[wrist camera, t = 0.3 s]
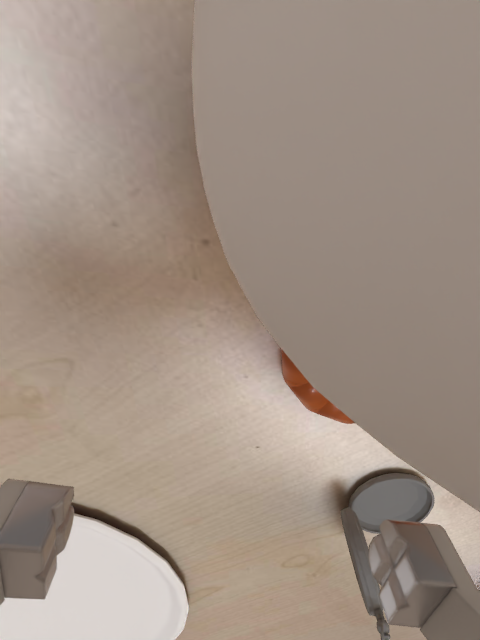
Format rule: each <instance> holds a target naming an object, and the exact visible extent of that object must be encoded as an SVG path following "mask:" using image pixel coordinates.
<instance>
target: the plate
mask: <svg viewBox="0 0 480 640" xmlns="http://www.w3.org/2000/svg"><path fill="white" fill-rule="evenodd" d="M188 611H189V604H188V600H187V595H186V591H185V587H184V583H183V582H182V581H181V579H180V578H179V577H178V575H177V574H176V572H175V571H174V570H173V568H172V567H171V566H170V564H169V563H168V561H167V560H165V559H164V558H163V557H161V556H160V555H159V554H158V553H156V552H155V551H154V550H152V549H151V548H150V547H148V546H147V545H146V544H144V543H143V542H142V541H140V540H139V539H138V538H136V537H134V536H132V535H129V534H127V533H125V532H123V531H121V530H119V529H117V528H114V527H112V526H110V525H108V524H106V523H104V522H102V521H99V520H97V519H94V518H90V517H86V516H82V515H79V514H75V513H74V518H73V524H72V528H71V531H70V535H69V538H68V541H67V544H66V546H65V549H64V550H63V551H62V552H61V553H59V554H58V555H57V570H56V572H55V575H54V578H53V580H52V583H51V585H50V588H49V590H48V593H47V595H46V598H45V599H21V598H5V601H4V602H3V603H2V604H1V605H0V640H175V639H176V638H177V637H178V635H179V634H180V633H181V632H182V631H183V629H184V626H185V622H186V618H187V615H188Z"/></svg>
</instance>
